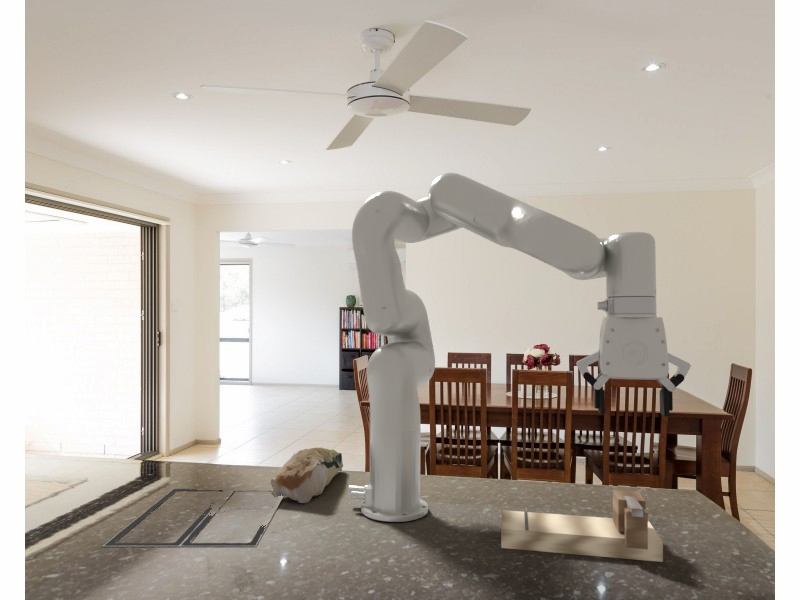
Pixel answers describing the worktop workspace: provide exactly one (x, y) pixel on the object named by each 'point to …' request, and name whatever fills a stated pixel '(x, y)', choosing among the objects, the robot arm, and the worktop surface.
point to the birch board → (573, 536)
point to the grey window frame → (188, 534)
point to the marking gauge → (631, 518)
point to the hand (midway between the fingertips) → (632, 414)
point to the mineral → (306, 474)
